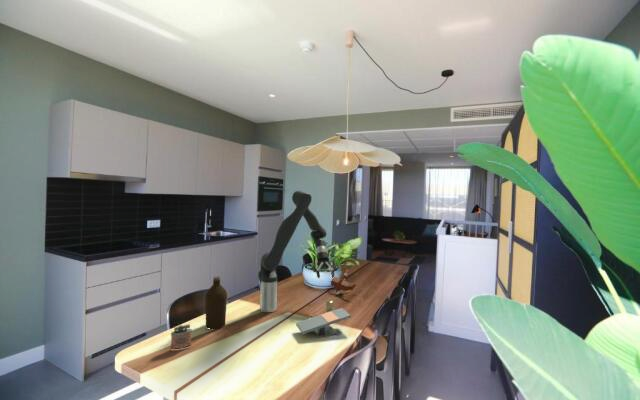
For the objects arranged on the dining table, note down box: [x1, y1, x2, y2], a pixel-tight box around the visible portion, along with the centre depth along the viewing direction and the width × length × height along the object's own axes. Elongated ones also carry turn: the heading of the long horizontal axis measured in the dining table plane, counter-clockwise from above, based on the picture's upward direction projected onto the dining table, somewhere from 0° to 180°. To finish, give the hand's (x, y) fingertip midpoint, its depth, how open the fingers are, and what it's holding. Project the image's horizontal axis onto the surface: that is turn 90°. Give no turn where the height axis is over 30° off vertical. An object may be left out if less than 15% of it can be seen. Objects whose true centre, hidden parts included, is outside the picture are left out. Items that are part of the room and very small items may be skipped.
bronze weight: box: [325, 299, 335, 313], centre depth 160 cm, size 4×4×9 cm
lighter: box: [170, 324, 193, 350], centre depth 124 cm, size 8×3×10 cm, turn 117°
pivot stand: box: [312, 325, 338, 339], centre depth 143 cm, size 10×12×5 cm
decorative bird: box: [330, 267, 357, 296], centre depth 202 cm, size 28×18×15 cm, turn 35°
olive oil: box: [204, 275, 228, 330], centre depth 146 cm, size 11×11×25 cm
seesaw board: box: [295, 307, 352, 335], centre depth 143 cm, size 26×10×1 cm, turn 113°
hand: (326, 277), depth 171 cm, fingers open, 8 cm apart
